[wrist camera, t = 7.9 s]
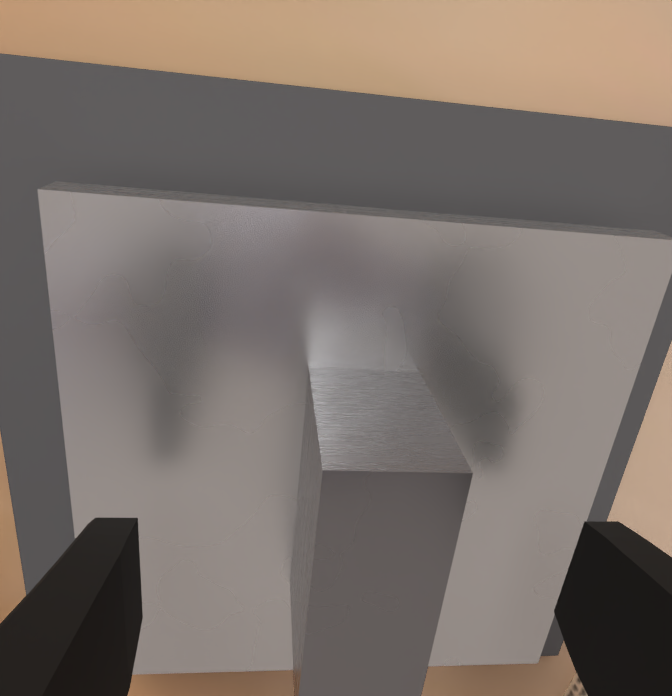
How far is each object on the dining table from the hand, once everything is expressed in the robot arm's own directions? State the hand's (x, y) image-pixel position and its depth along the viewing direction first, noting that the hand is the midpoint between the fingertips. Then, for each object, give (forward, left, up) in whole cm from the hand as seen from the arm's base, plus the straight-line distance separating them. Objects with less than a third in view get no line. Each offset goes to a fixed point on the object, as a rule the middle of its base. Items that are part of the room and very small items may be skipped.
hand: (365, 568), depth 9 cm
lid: (0, 0, -4) cm, 4 cm away
